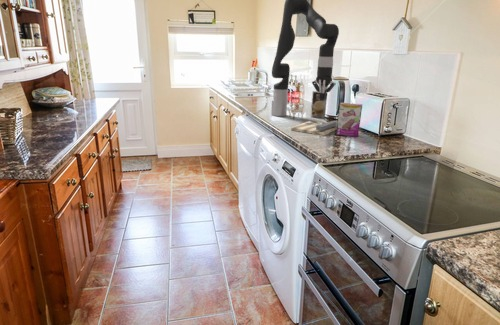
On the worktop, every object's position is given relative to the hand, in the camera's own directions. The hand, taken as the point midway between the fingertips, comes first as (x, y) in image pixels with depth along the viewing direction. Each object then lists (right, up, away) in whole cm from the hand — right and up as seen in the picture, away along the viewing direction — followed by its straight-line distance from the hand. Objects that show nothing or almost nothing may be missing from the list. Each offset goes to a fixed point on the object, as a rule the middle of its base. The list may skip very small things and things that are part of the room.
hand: (322, 100), depth 180 cm
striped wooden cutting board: (-1, -14, +12) cm, 18 cm away
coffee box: (+7, -3, +46) cm, 47 cm away
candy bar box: (+13, -19, -1) cm, 23 cm away
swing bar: (+4, -14, +6) cm, 15 cm away
